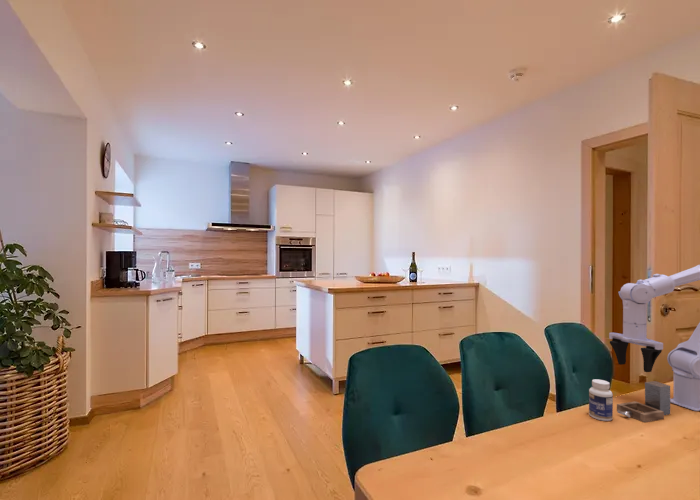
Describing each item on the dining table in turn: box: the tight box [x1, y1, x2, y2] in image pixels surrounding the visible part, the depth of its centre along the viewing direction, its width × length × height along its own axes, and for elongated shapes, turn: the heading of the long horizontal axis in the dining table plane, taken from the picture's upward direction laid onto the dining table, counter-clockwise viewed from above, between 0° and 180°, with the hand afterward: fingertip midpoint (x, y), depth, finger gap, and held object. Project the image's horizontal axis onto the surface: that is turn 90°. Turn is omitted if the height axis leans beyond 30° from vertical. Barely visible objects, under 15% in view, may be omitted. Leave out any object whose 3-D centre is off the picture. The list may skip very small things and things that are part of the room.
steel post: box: [644, 380, 671, 416], centre depth 105 cm, size 4×4×8 cm
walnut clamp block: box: [616, 400, 665, 423], centre depth 103 cm, size 10×7×2 cm
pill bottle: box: [588, 378, 614, 422], centre depth 101 cm, size 5×5×10 cm
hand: (634, 367), depth 112 cm, fingers open, 7 cm apart
